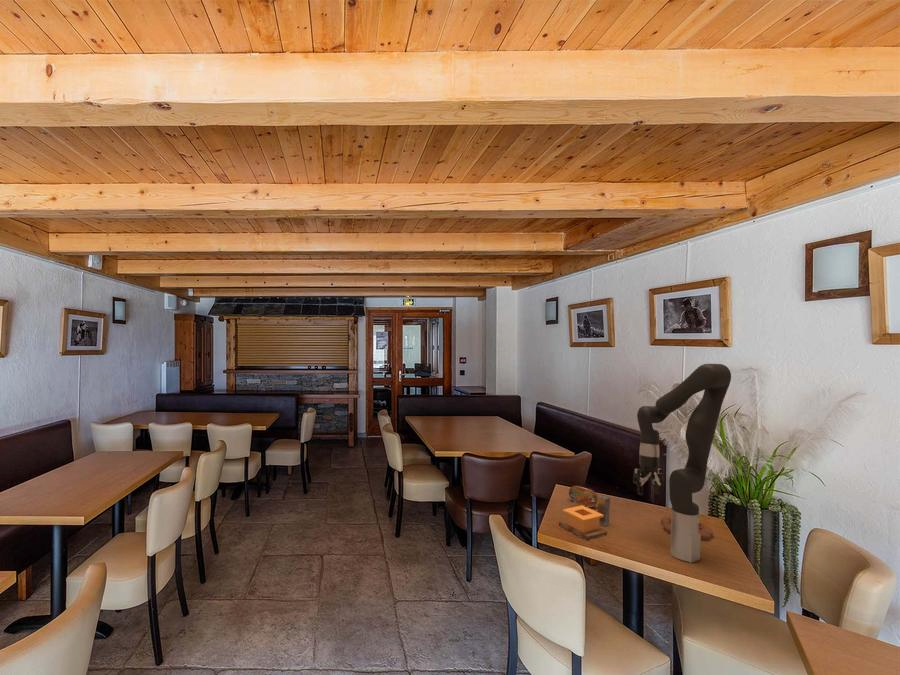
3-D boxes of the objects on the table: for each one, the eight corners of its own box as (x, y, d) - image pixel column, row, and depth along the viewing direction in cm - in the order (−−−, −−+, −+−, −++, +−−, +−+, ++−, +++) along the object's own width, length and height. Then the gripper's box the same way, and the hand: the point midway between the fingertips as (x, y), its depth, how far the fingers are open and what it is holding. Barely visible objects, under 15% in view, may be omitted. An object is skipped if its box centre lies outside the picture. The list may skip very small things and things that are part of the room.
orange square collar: (603, 529, 183) (603, 514, 183) (583, 534, 177) (583, 519, 177) (581, 518, 194) (582, 505, 194) (562, 523, 188) (562, 509, 188)
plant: (718, 545, 176) (719, 517, 176) (665, 536, 182) (666, 510, 182) (706, 526, 195) (707, 501, 195) (658, 519, 201) (659, 495, 201)
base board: (607, 534, 181) (607, 530, 182) (587, 540, 175) (587, 536, 176) (578, 520, 195) (578, 516, 195) (558, 525, 189) (559, 521, 189)
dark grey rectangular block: (609, 524, 192) (609, 497, 192) (604, 526, 189) (605, 499, 189) (601, 521, 194) (602, 495, 195) (597, 523, 192) (598, 496, 192)
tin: (568, 500, 220) (568, 484, 220) (571, 499, 222) (572, 482, 222) (594, 510, 208) (595, 492, 208) (598, 508, 210) (598, 491, 210)
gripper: (642, 456, 173) (641, 497, 171) (669, 456, 178) (668, 496, 176) (629, 452, 180) (627, 492, 178) (655, 453, 185) (654, 491, 183)
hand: (648, 494), depth 177 cm, fingers open, 8 cm apart
